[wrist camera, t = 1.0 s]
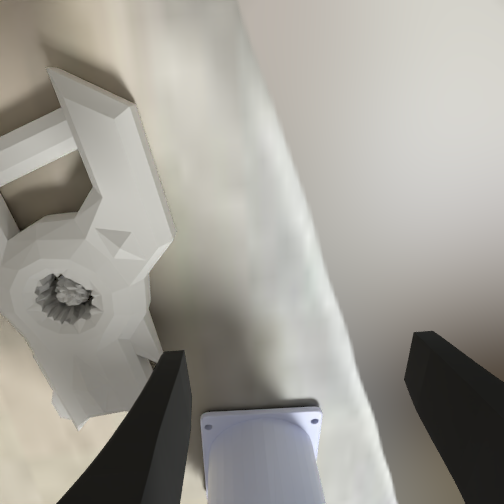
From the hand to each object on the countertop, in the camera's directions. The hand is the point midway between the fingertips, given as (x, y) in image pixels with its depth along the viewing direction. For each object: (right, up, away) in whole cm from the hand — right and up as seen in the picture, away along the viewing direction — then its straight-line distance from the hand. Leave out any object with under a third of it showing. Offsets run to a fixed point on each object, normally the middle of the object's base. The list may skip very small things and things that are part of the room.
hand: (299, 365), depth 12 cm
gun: (-10, +3, +8) cm, 13 cm away
